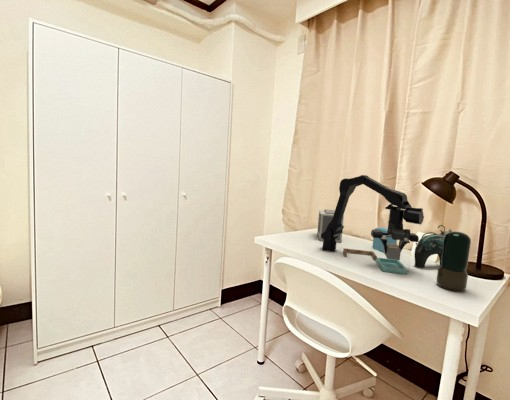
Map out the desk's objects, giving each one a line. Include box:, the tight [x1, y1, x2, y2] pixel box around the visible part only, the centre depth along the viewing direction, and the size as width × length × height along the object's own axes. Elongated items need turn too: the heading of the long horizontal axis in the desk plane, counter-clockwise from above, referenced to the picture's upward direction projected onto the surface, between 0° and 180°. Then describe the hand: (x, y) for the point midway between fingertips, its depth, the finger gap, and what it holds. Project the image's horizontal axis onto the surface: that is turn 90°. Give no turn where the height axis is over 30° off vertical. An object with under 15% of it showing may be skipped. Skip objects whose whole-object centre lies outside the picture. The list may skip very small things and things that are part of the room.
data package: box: [372, 227, 398, 253], centre depth 156 cm, size 12×4×12 cm, turn 24°
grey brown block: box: [383, 243, 402, 261], centre depth 129 cm, size 5×9×5 cm, turn 164°
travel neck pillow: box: [414, 224, 453, 269], centre depth 133 cm, size 20×6×20 cm, turn 102°
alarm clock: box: [316, 208, 345, 244], centre depth 177 cm, size 18×13×18 cm
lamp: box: [436, 230, 472, 292], centre depth 109 cm, size 10×10×22 cm
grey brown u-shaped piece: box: [342, 247, 378, 261], centre depth 144 cm, size 15×9×2 cm, turn 77°
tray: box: [375, 256, 408, 275], centre depth 129 cm, size 10×14×2 cm
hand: (391, 254), depth 129 cm, fingers closed on grey brown block, 5 cm apart
